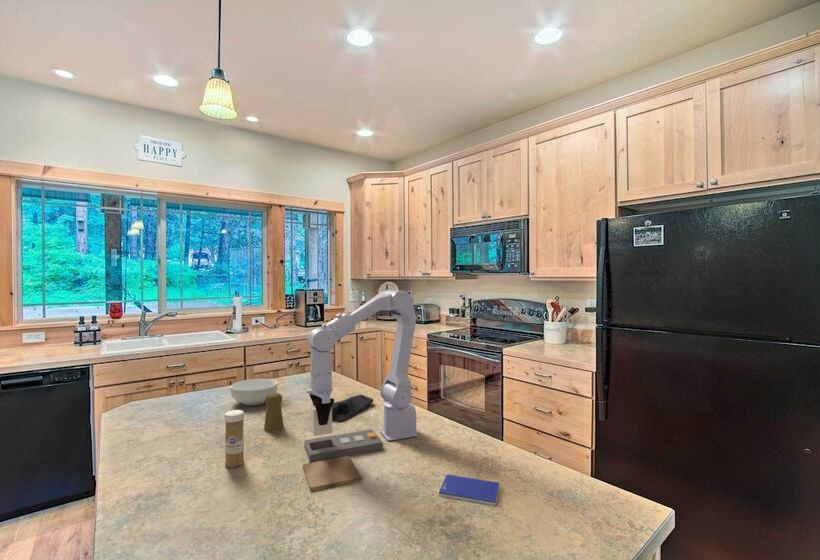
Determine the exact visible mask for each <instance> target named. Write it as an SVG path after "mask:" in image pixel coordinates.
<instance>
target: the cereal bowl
mask: <svg viewBox="0 0 820 560" xmlns="http://www.w3.org/2000/svg"><path fill="white" fill-rule="evenodd" d="M277 391H278V381H276V380H274V379H269V378H253V379H252V378H251V379H244V380H240V381H237V382H234V383H232V384H231V386H230V396H231V397H232V398H233V400H234V401H236V402H237V403H241V404H243V405H245V406H258V405H262V404H264V403H265V398H266V396H267V395H268V394H271V393H278V392H277Z"/></svg>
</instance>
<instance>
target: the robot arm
mask: <svg viewBox="0 0 820 560" xmlns="http://www.w3.org/2000/svg"><path fill="white" fill-rule="evenodd" d="M414 301H415V299H414V298H413V297H412V296H411V294H410V293H409V292H408V291H407V290H398V289H397V290H396V289H395V290H393V289H385V290H384V291H382V292H380V293H377V294H376V295H375V296H374V297H372V298H371V299H369V300H368V301H367V302H365V303H364V304H363V305H361V306H359V307H358V308H357V309H355V310H354V311H352V312H351V313H346V312H343V313H337V314H335V318H333V319H332V320H330V321H329V322H327V323H322V324H321V328H320V327H319V328H318V327H317V328H314V329H313V330H311V331H310V332H309V334H308V336H307V337H308V338H307V339H306V342H307V344H308V346H309V347H310V359H309V361H310V366H309V367H310V388H306V390H305V392H306V394H308V396H309V397H310V400H311V402H312V405H315V408H316V411H317V417H318V422H319V425H327V423H328V419H329V414H330V410H331V407H332V405H333V403H335V398H333V397H331V394H332V393H333V389H334V388H333V374H332V373H333V372H332V371H333V370H332V367H333V366H332V364H333V363H332V362H333V361H332V360H333V359H332V349H333V348H334V346H335V343H337V342H339V340H341V339H342V338H344V337H346V336H349V334H351V333H352V332H353V331H355V330H356V327H357V324H358V323H360V322H362V321H363V320H365V319H367V318H368V317H370V316H372V315H375V314H376V313H377V312H379V311H387V312H388V313H390V314H392V316H393V317H394V319H396V321H397V324H396V325H397V326H396V332H395V338H394V345H393V352H392V357H391V363H390V370H389V373H387V374H386V376H385V378H384V381H383V384H382V385H381V387H380V392H379V393H380V396H381V398H382V399H383V402H384V403H383V410H384V411H383V420H384V421H383V422H384V423H383V427H384V429H380V430H379V432H380V433H381V435H382V436H383V437H384V438H385V439H386V441H388V442H390V441H392V442H393V441H396V440H402V439H407V438H414V437H418V433H417V411H416V410H417V409H416V408H415V407H416V406H415V405H414V404H413V403H412V402H411V401H412V399H413V396H412V395H413V393H412V391H411V389H412V388H411V387H412V382H411V380H410V378H409V376H408V375H409V374H408V373H409V367H410V360H411V353H412V348H413V341H414V334H415V327H416V322H417V315H416V312H415V311H416V310H415V308H414V307H415V306H414Z"/></svg>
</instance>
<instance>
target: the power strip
mask: <svg viewBox="0 0 820 560" xmlns="http://www.w3.org/2000/svg"><path fill="white" fill-rule="evenodd" d="M383 449H384V444H383V441H382V439H381V438H380V437H379V436H378V434H377V433H376V432H375V431H374V430H373V429H366V430H361V431H360V430H359V431H353V432H347V433H341V434H335V435H328V436H322V437H316V438H309V439H304V451H305V453H306V456H307V459H308V463H313V462H319V461H324V460H330V459H335V458H340V457H346V456H353V455H359V454H364V453H370V452H375V451H381V450H383Z"/></svg>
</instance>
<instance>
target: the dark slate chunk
mask: <svg viewBox="0 0 820 560" xmlns="http://www.w3.org/2000/svg"><path fill="white" fill-rule="evenodd" d="M373 402H374V399H373V398H372V397H369V396H366V395H363V394H358V395H353V396H350V397H348V398H346V399H343V400H339V401H334V403H333V405H332V422H341V423H342V422H345V421H346V420H347V419H350V418H352V417H354V416H356V415H357V414H358V413H360V412H361V411H363V410H365V409H367V407H369V406H370V405H372V404H373ZM364 408H365V409H364ZM355 414H356V415H355Z"/></svg>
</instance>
